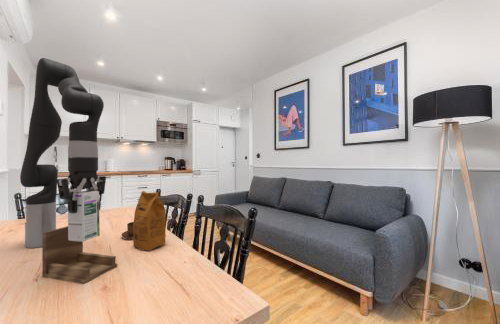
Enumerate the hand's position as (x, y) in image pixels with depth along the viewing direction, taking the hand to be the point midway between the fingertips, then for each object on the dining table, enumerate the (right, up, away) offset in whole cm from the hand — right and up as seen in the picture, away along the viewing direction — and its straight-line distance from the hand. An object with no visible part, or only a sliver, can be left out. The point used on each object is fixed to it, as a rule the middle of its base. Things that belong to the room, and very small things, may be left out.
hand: (83, 210), depth 70 cm
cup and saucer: (-1, -20, +34) cm, 39 cm away
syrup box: (0, -9, 0) cm, 9 cm away
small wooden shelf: (-1, -19, 0) cm, 19 cm away
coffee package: (+11, -19, +22) cm, 31 cm away
